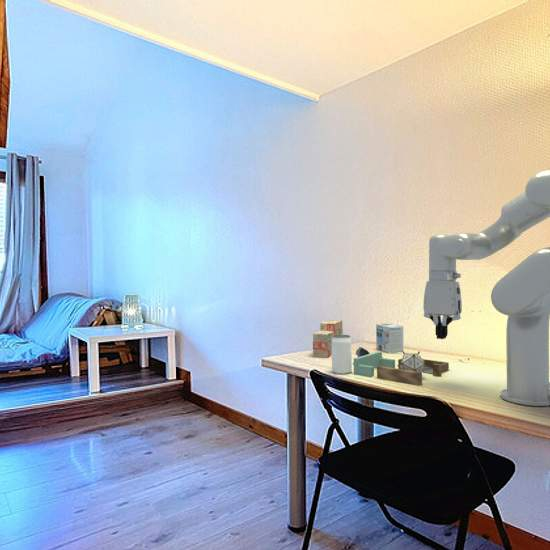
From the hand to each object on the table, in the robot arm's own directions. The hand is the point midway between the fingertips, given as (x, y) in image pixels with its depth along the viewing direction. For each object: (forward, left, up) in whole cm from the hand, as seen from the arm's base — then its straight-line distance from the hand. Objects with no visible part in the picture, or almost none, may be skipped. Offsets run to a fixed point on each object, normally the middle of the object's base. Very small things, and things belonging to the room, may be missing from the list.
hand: (441, 338), depth 133 cm
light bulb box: (+36, -35, -13) cm, 52 cm away
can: (+30, +8, -13) cm, 34 cm away
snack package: (+32, -10, -14) cm, 37 cm away
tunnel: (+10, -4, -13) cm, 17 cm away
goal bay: (+22, 0, -13) cm, 26 cm away
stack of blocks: (+54, -17, -14) cm, 58 cm away
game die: (+9, 0, -13) cm, 16 cm away
